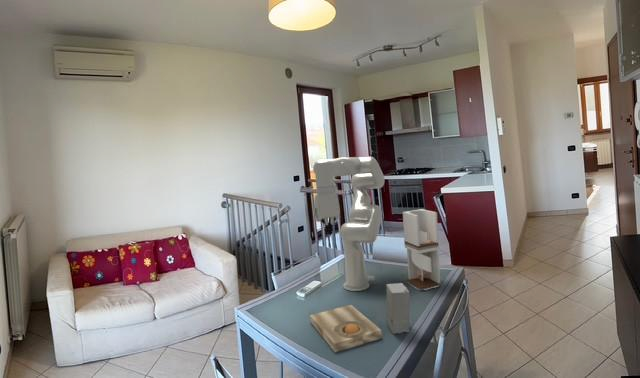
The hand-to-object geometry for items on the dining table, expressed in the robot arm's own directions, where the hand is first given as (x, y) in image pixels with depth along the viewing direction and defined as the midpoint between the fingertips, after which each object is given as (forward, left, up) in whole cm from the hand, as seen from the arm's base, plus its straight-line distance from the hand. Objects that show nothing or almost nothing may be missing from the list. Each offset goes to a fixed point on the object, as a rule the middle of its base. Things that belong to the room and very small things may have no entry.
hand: (329, 233), depth 153 cm
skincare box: (-13, +29, -32) cm, 45 cm away
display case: (-45, +1, -32) cm, 55 cm away
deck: (+5, +20, -32) cm, 38 cm away
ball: (+5, +27, -30) cm, 40 cm away
